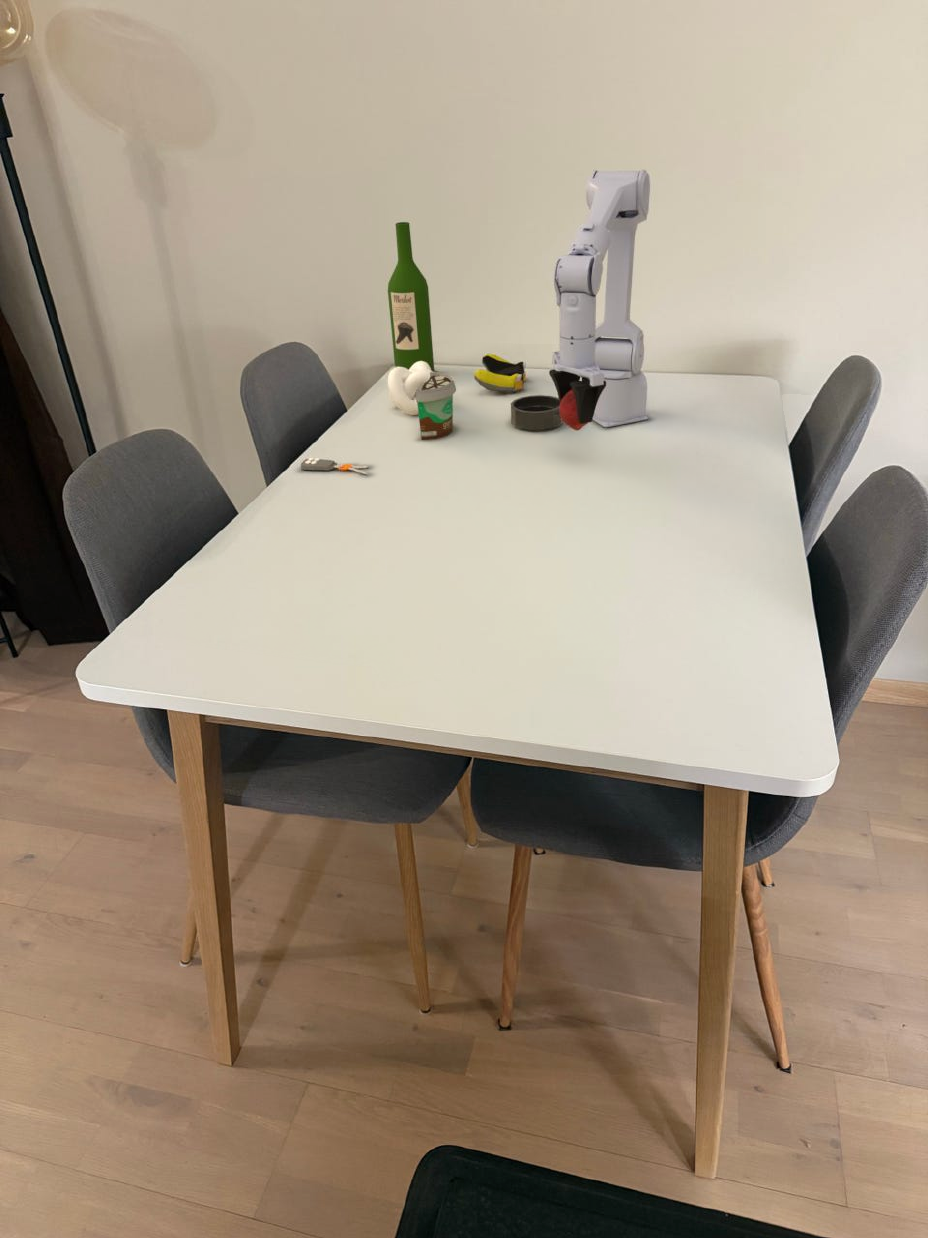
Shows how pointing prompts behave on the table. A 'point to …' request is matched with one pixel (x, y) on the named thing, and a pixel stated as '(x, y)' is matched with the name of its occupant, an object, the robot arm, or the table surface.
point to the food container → (436, 406)
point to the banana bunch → (500, 374)
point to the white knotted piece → (408, 385)
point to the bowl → (536, 413)
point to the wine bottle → (409, 307)
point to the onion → (570, 411)
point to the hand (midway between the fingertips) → (576, 416)
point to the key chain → (327, 465)
